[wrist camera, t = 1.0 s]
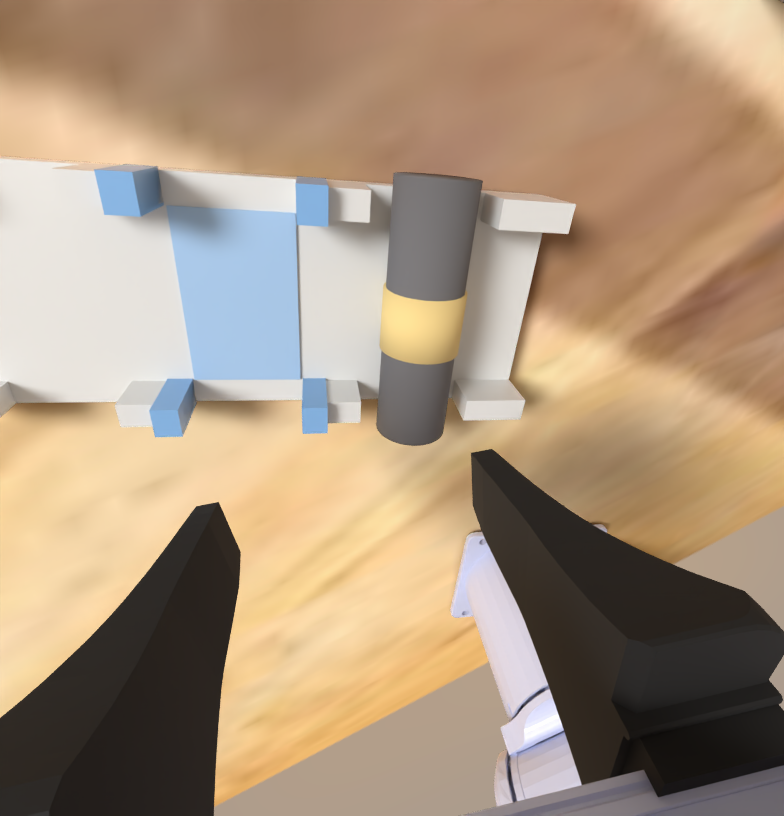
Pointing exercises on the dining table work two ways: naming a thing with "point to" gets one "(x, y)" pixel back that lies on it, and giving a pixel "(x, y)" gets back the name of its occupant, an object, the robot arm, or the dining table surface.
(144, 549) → the dining table surface
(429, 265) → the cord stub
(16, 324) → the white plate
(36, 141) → the dining table surface
